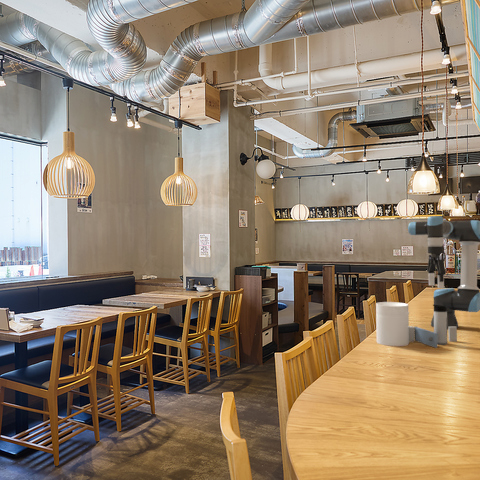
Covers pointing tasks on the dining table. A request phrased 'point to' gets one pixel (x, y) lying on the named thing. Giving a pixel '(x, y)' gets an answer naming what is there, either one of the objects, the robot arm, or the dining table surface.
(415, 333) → the door
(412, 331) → the door post
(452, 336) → the wall stub
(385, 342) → the canister
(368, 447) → the dining table surface
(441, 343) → the travel mug
